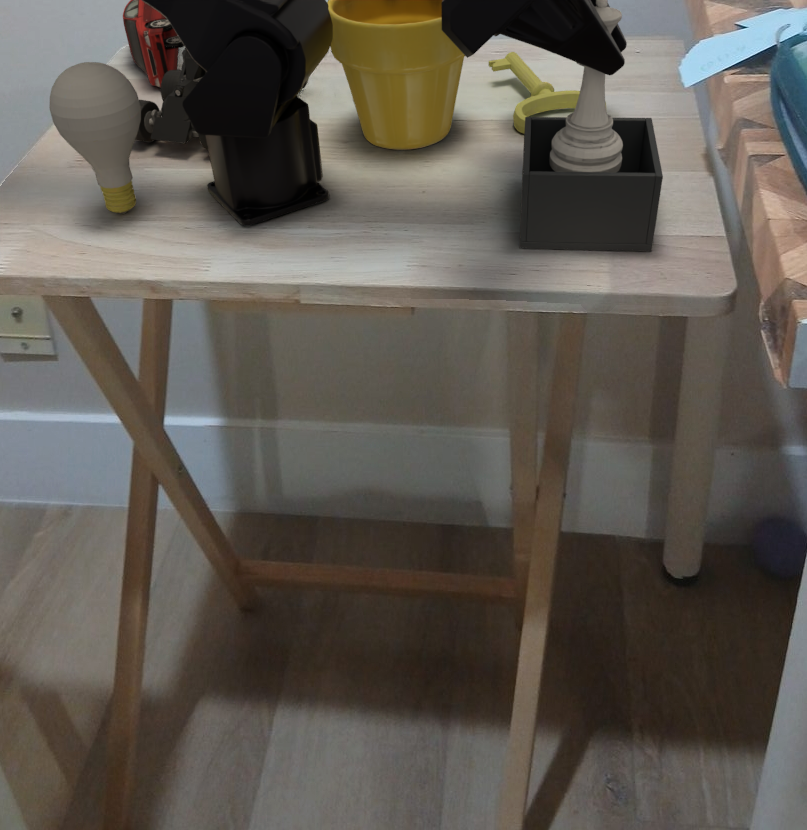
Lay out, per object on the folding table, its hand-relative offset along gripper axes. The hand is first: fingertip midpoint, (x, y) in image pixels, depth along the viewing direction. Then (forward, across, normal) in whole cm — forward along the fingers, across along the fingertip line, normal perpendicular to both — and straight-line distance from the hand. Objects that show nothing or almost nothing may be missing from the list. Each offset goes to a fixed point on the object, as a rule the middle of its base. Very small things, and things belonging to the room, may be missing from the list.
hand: (619, 60), depth 53 cm
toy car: (-21, +24, +33) cm, 46 cm away
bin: (+6, 0, +8) cm, 10 cm away
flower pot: (-3, +11, +18) cm, 22 cm away
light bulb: (-15, -3, +30) cm, 34 cm away
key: (+3, +17, +11) cm, 21 cm away
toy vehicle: (-14, +12, +29) cm, 35 cm away
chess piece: (+4, 0, +6) cm, 7 cm away
